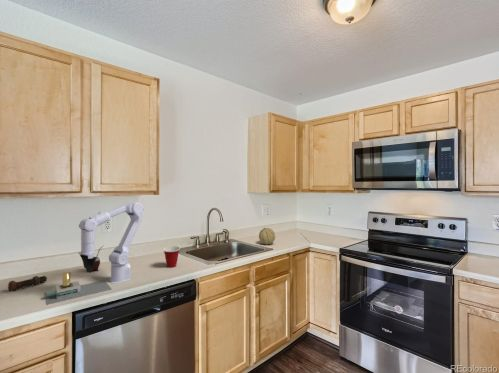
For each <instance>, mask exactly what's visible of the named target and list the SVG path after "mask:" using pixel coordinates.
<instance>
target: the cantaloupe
mask: <svg viewBox="0 0 499 373" xmlns="http://www.w3.org/2000/svg"><path fill="white" fill-rule="evenodd" d="M258 239H259V242H261V243H262V244H263V245H271V244H273V243H274V242H275V240H276V233H275V231H274V230H273V229H272V228H269V227H263V228H262V229H261V230H260V231H259V233H258Z"/></svg>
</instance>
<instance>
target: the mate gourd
mask: <svg viewBox="0 0 499 373" xmlns="http://www.w3.org/2000/svg"><path fill="white" fill-rule="evenodd" d="M104 246H105V245H104V244H103V245H102V246H101V247H99V249H98V251H97V255H96V256H95V257H96V260H95V262H94V265H93V269H92V271H91V272H88V273H93V272H99V268H100V265H101V259H100V257H98V256H99V253H100V251H101V249H102V248H103V247H104Z"/></svg>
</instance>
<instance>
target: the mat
mask: <svg viewBox="0 0 499 373" xmlns="http://www.w3.org/2000/svg"><path fill="white" fill-rule="evenodd" d="M80 286H81V294H77V295H73V296H68V297H64V298H60V299H57V298H56V294H55V295H51V296H47V295H46V292H44V299H45V305H46V306H49V305H51V304H56V303H60V302H65V301H69V300H73V299H78V298H82V297H87V296H90V295H95V294H99V293H102V292H107V291H108V292H109V291H111V290H112V287H110V285H109V284H108V283H107V281H106V280H100V281H95V282H91V283H85V284H80Z"/></svg>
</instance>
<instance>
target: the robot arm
mask: <svg viewBox="0 0 499 373" xmlns="http://www.w3.org/2000/svg"><path fill="white" fill-rule="evenodd" d="M143 212H144V206H143V205H142V203H140V202H133V201H132V202H130V201H128V202H126V203H125V202H124V203H122V204H121V205H119V206H116V207H115V208H113V209H112V210H109V211H107V212H106V211H98V213H97V214H95V215H90V216H89V218H83V219H82V220H81V221H80V222H79V224H78V228H79V229H80V231H81V232H80V249H81V250H80V251H79V252H78V255H79V256H80V257H81V258H80V259H81V260H82V264H83V267H84V269H85V270H86V273H89V272H91V271H92V269H93V265H94V262H95V260H96V256H94V254H95V253H96V248H95V247H96V246H95V239H96V238H95V237H96V236H95V230H96V229H97V227H99V226H101V225H103V224H106V223H108V222H109V221H110V219H111V218H113V217H115V216H119V215H120V214H123V213H126V214H127V215H128V216H129V219H130V221H129V223H128V225H127V227H126V230H125V231H124V233H123V236H122V238H121V240H120V241H119V244H118V246H116V247H115V248H114V249H113V250H112V252H110V254H109V256H108V261H109V262H110V268H111V269H110V274H111V275H110V278H109V279H108V280H109V282H110V283H111V284H118V283H121V282H126V281H131V280H132V278H131V276H132V274H131V270H132V269H131V267H132V266H131V264H130V263H129V262H128V261H129V255H130V246H131V244H132V242H133V240H134V238H135V236H136V233H137V232H138V229H139V227H140V225H141V223H142V219H143ZM91 273H92V272H91Z"/></svg>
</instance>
